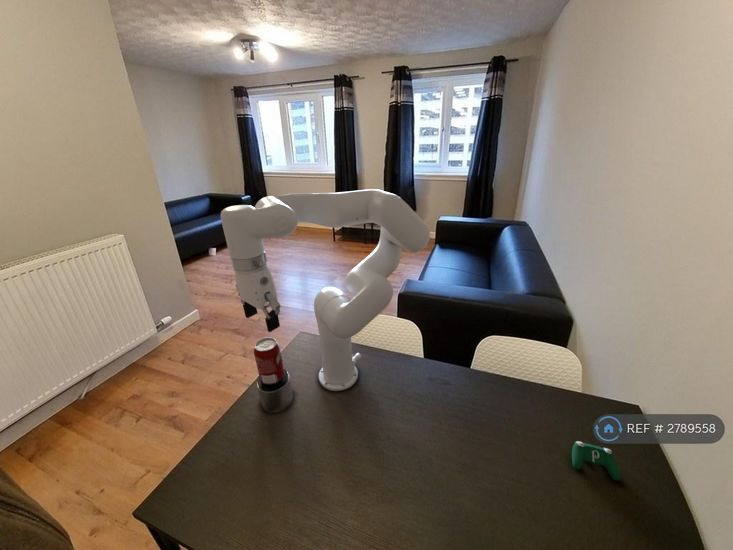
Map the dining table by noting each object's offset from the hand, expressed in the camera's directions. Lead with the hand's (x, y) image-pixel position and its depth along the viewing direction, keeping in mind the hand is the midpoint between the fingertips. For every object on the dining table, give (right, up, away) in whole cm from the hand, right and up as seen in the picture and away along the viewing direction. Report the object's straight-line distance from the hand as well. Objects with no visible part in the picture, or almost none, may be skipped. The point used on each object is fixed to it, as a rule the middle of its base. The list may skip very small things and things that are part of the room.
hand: (262, 322), depth 77 cm
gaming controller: (+80, -33, -6) cm, 87 cm away
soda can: (0, -17, +9) cm, 20 cm away
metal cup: (0, -25, +13) cm, 28 cm away
